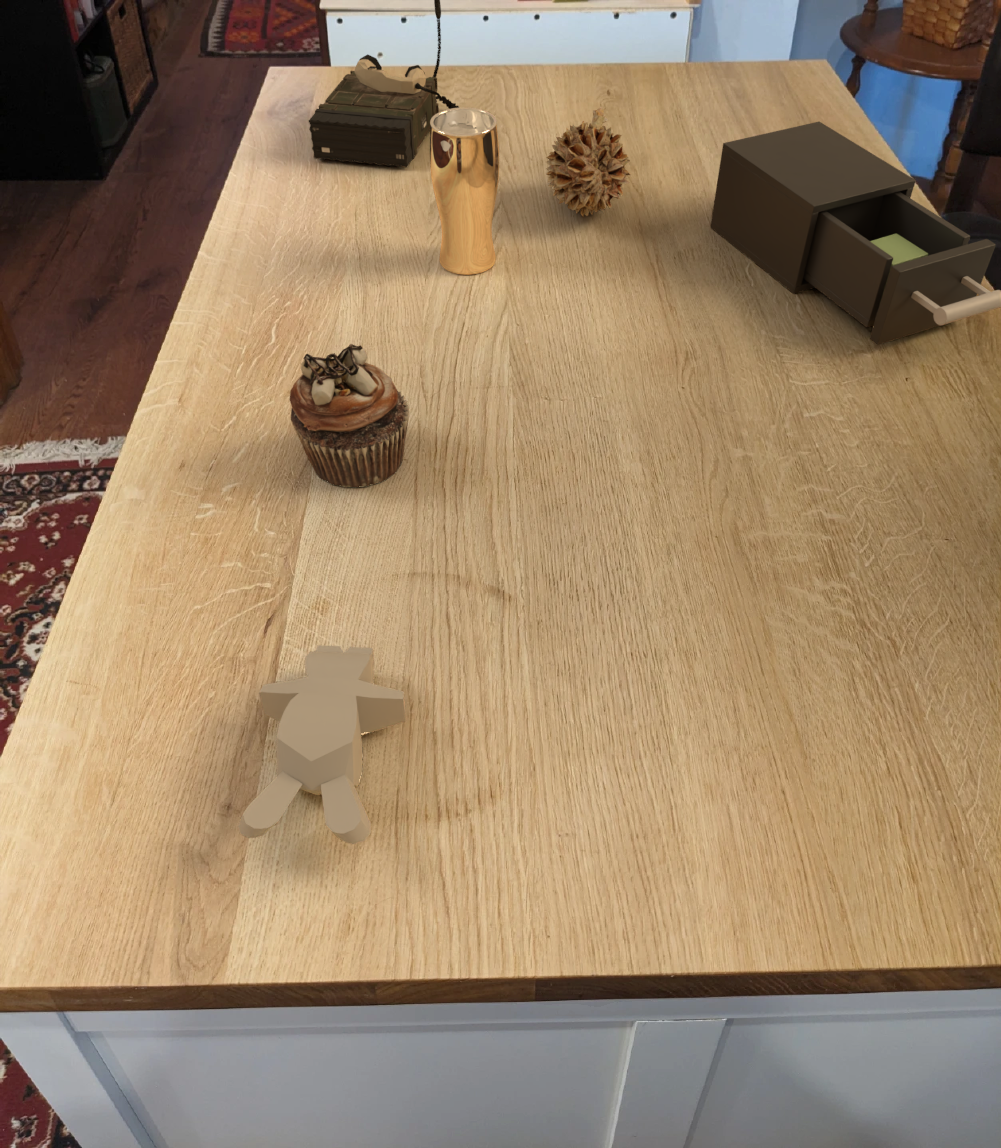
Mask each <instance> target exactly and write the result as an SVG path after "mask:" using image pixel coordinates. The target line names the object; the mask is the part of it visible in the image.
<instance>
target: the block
mask: <svg viewBox="0 0 1001 1148" xmlns="http://www.w3.org/2000/svg"><path fill="white" fill-rule="evenodd" d="M870 242H872V243H873V244H875V245H876V246H877V247H879V248H880V249H882V250H883V251H885V252H886V253H888V254H889V255H890V256H892V257H893V261H892V265H891V266H894V265H897V264H901V263H904V262H908V261H911V260H915V259H918V258H922V257H925V256H928V253H926V252H925V251H923V250H922V249H920V248H919V247H917V246H915V245H914V244H912V243H911V242H909V241H908V240H906V239H904V238H903V237H901V236H900V235H898V234H893V235H889V236H886V237H883V238H879V239H876V240H872V241H870ZM890 270H891V268H890ZM889 273H890V271H889ZM888 276H889V275H888ZM887 279H888V278H887ZM886 283H887V281H886ZM885 286H886V284H885ZM884 289H885V288H884ZM883 293H884V291H883ZM882 296H883V294H882ZM881 299H882V298H881ZM880 302H881V301H880ZM879 305H880V304H879Z"/></svg>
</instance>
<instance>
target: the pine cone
mask: <svg viewBox="0 0 1001 1148" xmlns="http://www.w3.org/2000/svg"><path fill="white" fill-rule="evenodd" d="M604 111H605V108H604V107H603V106H600V107H599V108H597V109H595V110H592V119H591V122H585V121H584V120H583V121H582V122H581V124H580V125H578V126H575V125H574V124H572V125H571V124H569V128H568V127H566V131H564V132H563V134H562V135H561V136H556V140H554V144H551V146H552V149H553V151H550V152H549V155H547V156H546V157H545V158H546V159H547V160H546V164H548V165H549V166H548V167H546V168H545V170H547V172H546V173H545V175H546V176H548V178H547V183H549V184H547V186H548V187H549V188H552V190H553V197H555V196H556V199H557V200H558V204H563V203H565V205H567V209H569V210H572V211H575V214H576V215H577V214H578V213H579V212H580V213H579V214H580V215H581V217H584V216H586V217H589V213H590V215H592V216H593V215H594V212H595V213H597V212H598V211H601V212H602V213H605V209H606V208H608V209H611V208H612V206H613V205H612V203H611V201H612V200H613V198H615V199H617V200H620V199H621V197H623V195H624V192H623V187H622V185H626V184H630V182H629V181H628V180H627V179H629V177H628V176H631V175H632V174H631V173H630V172H629V171H628V170H627V169H626V167H625V166H626V165H628V164H629V163H630V161H631V160H630V159H629V155H628V154H627V153H625V152H623V147H624V146H623V145H624V143H620V140H621V138H622V134H619V133H617V134H615V135H614V133H613V132H612V127H611V126H610V127H609V128H607V127H606V125H604V123H606V122H607V123H608V122H609V119H608V116H607V115H605V116H604V114H605V112H604ZM620 196H621V197H620Z"/></svg>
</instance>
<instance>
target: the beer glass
mask: <svg viewBox="0 0 1001 1148" xmlns="http://www.w3.org/2000/svg"><path fill="white" fill-rule="evenodd" d="M429 167H430V177H431V184H432V190H433V193H434V198H435V203H436V206H437V211H438V216H439V221H440V226H441V242H440V243H441V244H440V248H439V258H438V259H439V264H440V265H441V267H442V268H443V269H444V270H446V271H447V272H450V273H453V274H455V275H463V276H464V275H465V276H470V275H472V276H473V275H478V274H482V273H484V272H487V271H488V270H490V269H491V268H492V267H493V266H494V265H495V264H496V260H497V259H496V258H497V257H496V252H495V247H494V242H493V232H492V230H493V229H492V228H493V217H494V211H495V206H496V199H497V194H498V187H499V179H500V146H499V135H498V120H497V117H496V116H495V115H494V114H493V113H491V112H490V111H487V110H485V109H481V108H477V107H463V106H462V107H459V108H452V109H449V108H447V109H445V110H441V111H439V113H437V114H435V115H434V116H433V117H432V118H431V120H430V131H429Z"/></svg>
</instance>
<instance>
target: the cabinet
mask: <svg viewBox="0 0 1001 1148" xmlns="http://www.w3.org/2000/svg"><path fill="white" fill-rule="evenodd" d="M720 155H721V156H720V162H719V168H718V174H717V181H716V188H715V192H714V193H715V194H714V201H713V206H712V212H711V220H710V226H709V227H710V229H712V230H713V231H714V232H715V233H717V235H719V236H721V237H722V238H723V239H724V240H725V241H726V242H728V243H729V244H730V245H732V246H733V247H734V248H736V250H738V251H739V252H740V253H742V254H743V255H745V256H746V257H747V258H748V259H749V260H750V261H752V262H753V263H754V264H755V265H757V266H758V267H759V268H760V269H762V270H763V271H764V272H766V273H767V274H768V275H769V276H771V277H772V278H773V279H774V280H775V281H776V282H778V283H779V284H781V285H782V286H783V287H784V288H785V289H787V290H788V291H789V292H791V293H792V294H798V293H801V292H805V291H808V290H809V291H810V290H812V289H816V288H815V287H814V286H813V285H811V284H810V283H809V282H807V281H806V280H805V279H804V278H803V276H804V272H805V267H806V263H807V259H808V255H809V250H810V246H811V242H812V238H813V234H814V229H815V225H816V221H817V217H818V212H821V211H825V210H829V209H833V208H837V207H840V206H844V205H848V204H852V203H856V202H860V201H864V200H868V199H871V198H875V197H879V196H883V195H887V194H891V193H895V192H901V193H903V194H904V195H906V196H907V197H909V198H911V197H912V194H913V191H914V187H915V185H916V182H917V180H916V179H915V178H913V177H912V176H910V175H908V174H907V173H905V172H903V171H902V170H900V169H898V168H897V167H895V166H894V165H892V164H890V163H889V162H887V161H885V160H883V159H882V158H880V157H879V156H877V155H876V154H874V153H872V152H870V151H869V150H867V149H865V148H864V147H862V146H861V145H859V144H857V143H856V142H854V141H852V139H849V138H847V137H846V136H844V135H842V134H840V133H839V132H837V131H836V130H834V128H833V129H832V128H831V127H829V126H828V125H826V124H825V123H823V122H821V121H815V122H810V123H805V124H801V125H797V126H793V127H788V128H784V129H780V130H779V129H778V130H775V131H771V132H766V133H762V134H758V135H753V136H749V137H744V138H740V139H736V140H731V141H726V142H723V143H722V149H721V154H720ZM911 199H912V198H911Z"/></svg>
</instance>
